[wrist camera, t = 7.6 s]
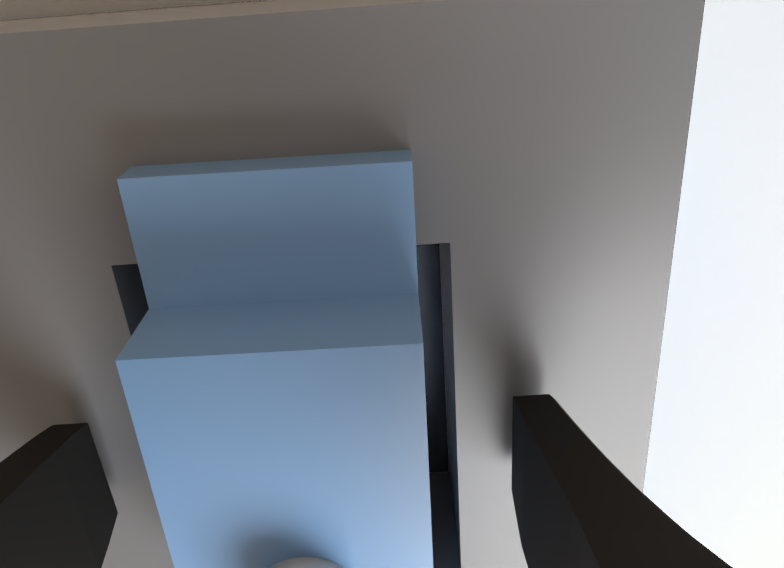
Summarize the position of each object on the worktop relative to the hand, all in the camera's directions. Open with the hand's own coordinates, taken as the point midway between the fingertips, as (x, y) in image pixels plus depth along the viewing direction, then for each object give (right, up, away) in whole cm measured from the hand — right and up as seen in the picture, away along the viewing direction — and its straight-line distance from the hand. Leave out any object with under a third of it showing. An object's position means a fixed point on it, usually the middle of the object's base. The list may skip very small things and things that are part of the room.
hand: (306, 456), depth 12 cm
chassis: (0, +1, +3) cm, 3 cm away
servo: (0, +2, +3) cm, 3 cm away
